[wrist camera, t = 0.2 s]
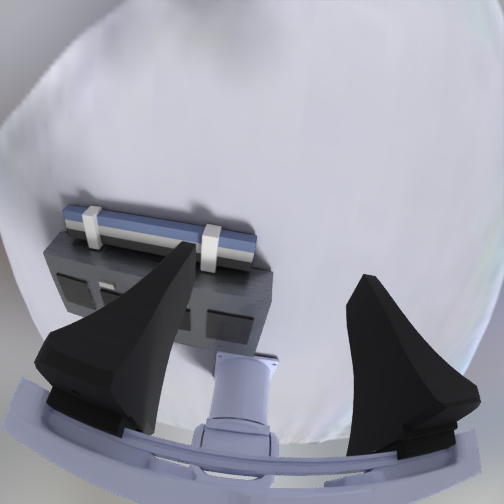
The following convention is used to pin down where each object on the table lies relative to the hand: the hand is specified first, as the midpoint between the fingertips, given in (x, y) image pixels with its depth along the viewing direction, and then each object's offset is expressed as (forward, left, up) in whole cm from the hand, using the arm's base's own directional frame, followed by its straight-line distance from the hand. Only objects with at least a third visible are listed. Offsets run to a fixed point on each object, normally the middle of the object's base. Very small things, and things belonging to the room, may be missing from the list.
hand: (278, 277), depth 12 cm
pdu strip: (-13, +10, -10) cm, 19 cm away
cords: (-6, +10, -10) cm, 15 cm away
